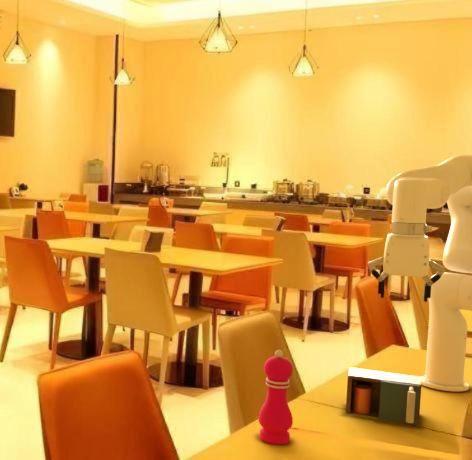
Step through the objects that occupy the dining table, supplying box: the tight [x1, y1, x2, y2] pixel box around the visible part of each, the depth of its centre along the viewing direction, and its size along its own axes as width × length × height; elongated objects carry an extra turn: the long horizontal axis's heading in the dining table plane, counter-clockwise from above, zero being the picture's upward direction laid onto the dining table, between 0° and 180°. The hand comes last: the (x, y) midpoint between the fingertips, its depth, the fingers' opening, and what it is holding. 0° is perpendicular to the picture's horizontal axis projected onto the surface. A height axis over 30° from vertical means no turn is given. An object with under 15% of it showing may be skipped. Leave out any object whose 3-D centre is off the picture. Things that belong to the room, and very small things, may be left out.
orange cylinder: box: [353, 385, 372, 414], centre depth 184 cm, size 4×4×6 cm
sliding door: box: [378, 380, 420, 426], centre depth 175 cm, size 7×8×10 cm
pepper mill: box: [257, 349, 294, 445], centre depth 165 cm, size 7×7×20 cm
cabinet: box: [345, 367, 423, 424], centre depth 183 cm, size 8×16×10 cm, turn 65°
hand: (403, 298), depth 186 cm, fingers open, 9 cm apart
